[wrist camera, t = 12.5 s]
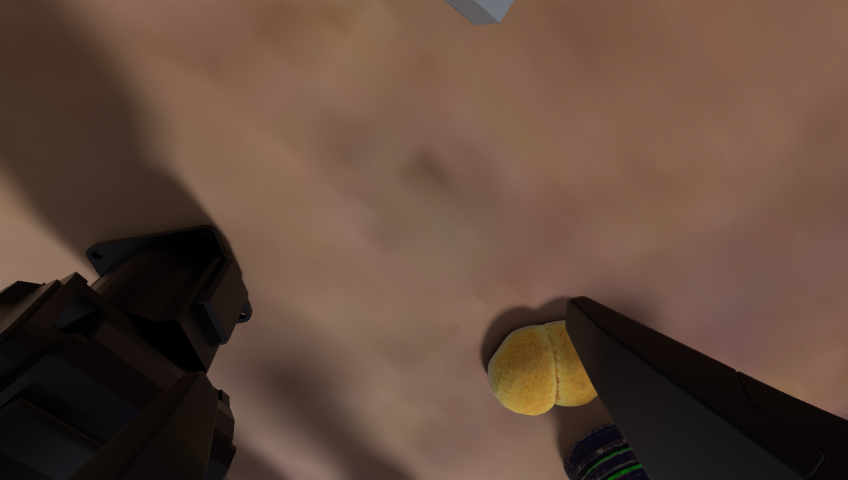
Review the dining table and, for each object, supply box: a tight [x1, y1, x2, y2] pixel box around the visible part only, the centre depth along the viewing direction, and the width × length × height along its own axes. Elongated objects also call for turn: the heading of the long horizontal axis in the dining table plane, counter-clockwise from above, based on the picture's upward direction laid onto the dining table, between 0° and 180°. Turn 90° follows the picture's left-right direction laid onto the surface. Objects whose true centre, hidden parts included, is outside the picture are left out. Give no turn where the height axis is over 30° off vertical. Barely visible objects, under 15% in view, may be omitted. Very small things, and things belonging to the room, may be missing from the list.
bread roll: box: [488, 320, 598, 415], centre depth 28 cm, size 8×9×4 cm
